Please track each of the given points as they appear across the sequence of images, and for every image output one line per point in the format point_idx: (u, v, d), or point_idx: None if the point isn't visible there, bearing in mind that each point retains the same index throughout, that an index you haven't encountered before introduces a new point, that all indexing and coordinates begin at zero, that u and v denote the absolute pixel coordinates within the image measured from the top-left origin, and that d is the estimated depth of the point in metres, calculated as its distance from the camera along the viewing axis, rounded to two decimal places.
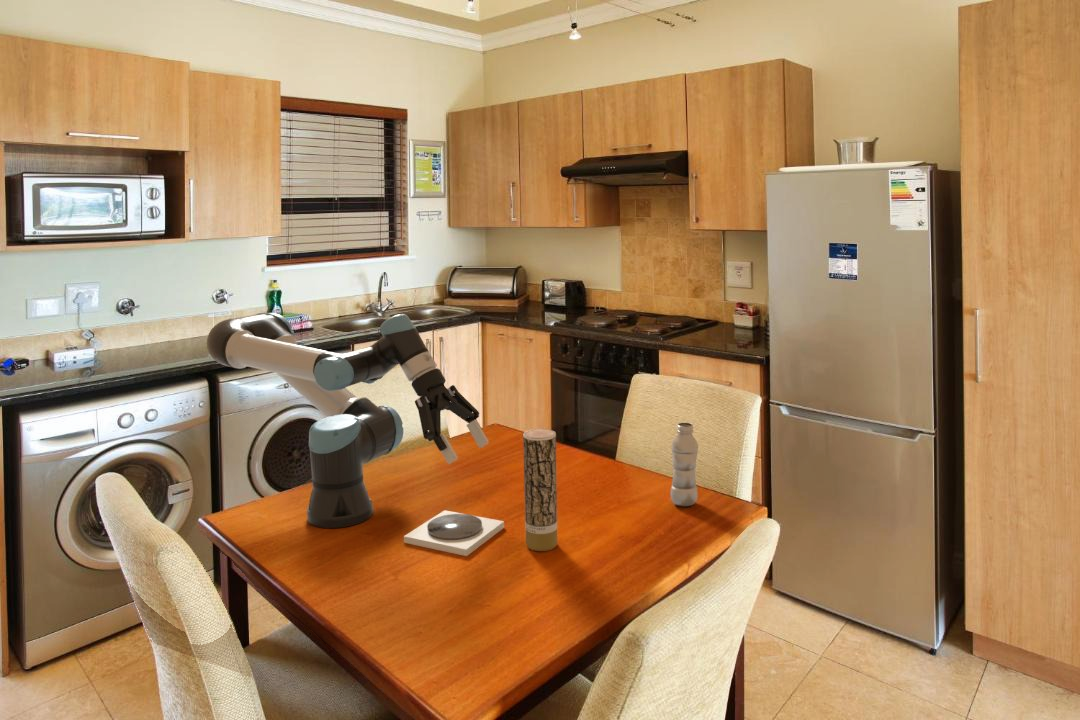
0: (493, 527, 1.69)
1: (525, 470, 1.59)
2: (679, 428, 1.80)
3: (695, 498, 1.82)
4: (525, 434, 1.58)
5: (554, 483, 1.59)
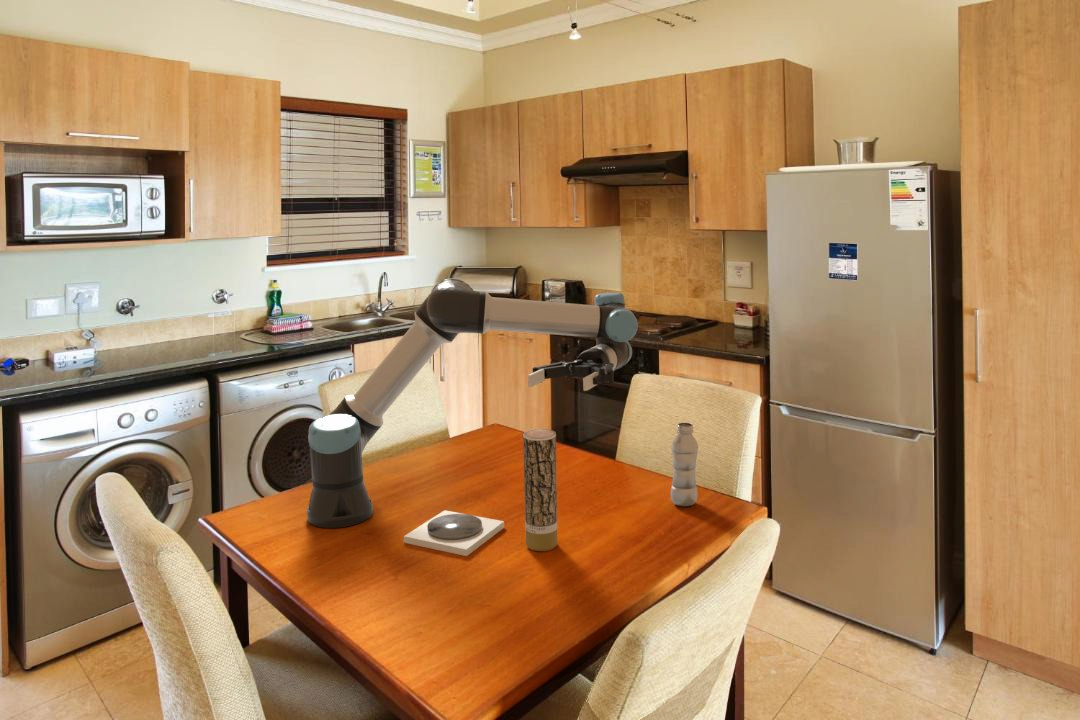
0: (493, 527, 1.69)
1: (525, 470, 1.59)
2: (679, 428, 1.80)
3: (695, 498, 1.82)
4: (525, 434, 1.58)
5: (554, 483, 1.59)
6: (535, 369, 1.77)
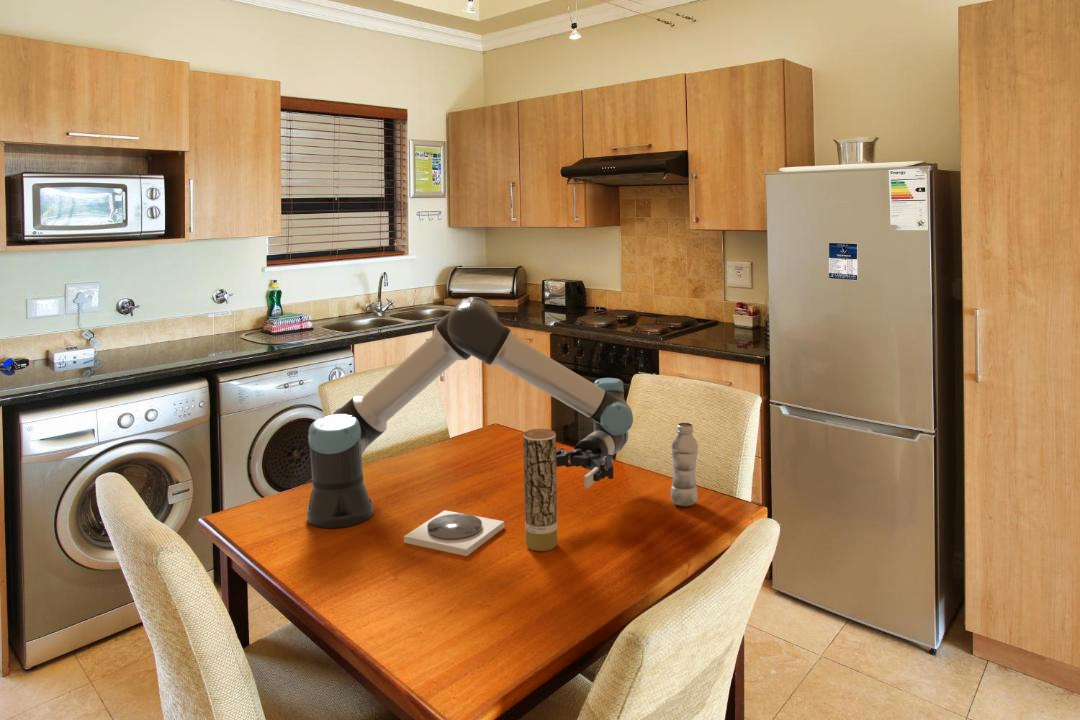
0: (493, 527, 1.69)
1: (525, 470, 1.59)
2: (679, 428, 1.80)
3: (695, 498, 1.82)
4: (525, 434, 1.58)
5: (554, 483, 1.59)
6: None
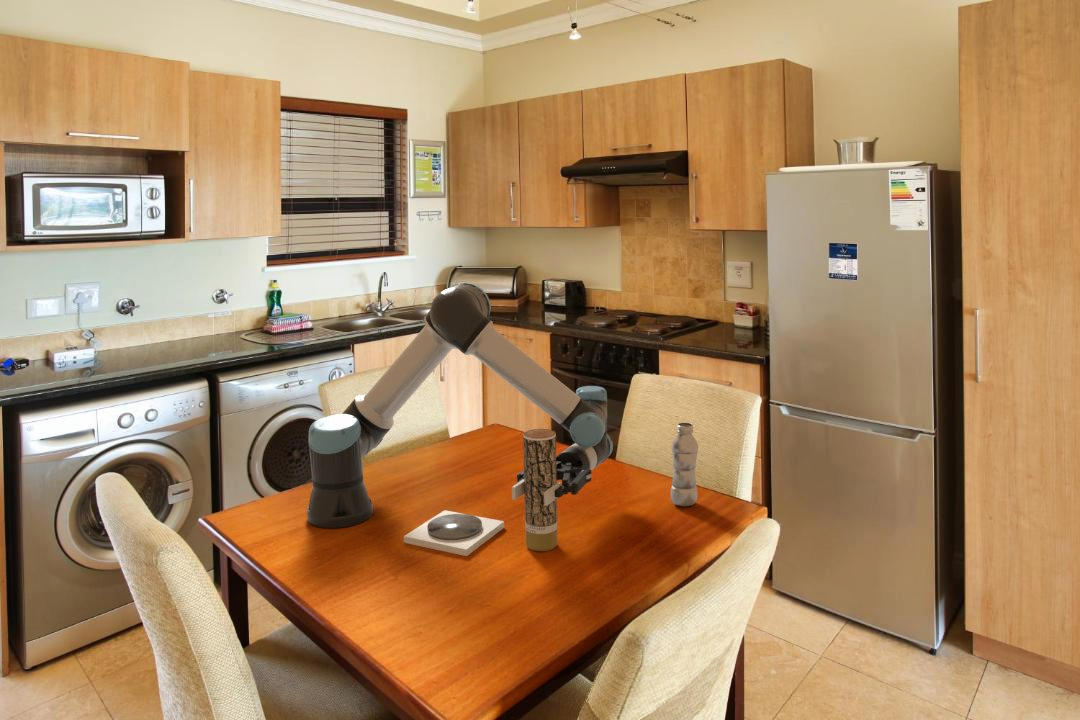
0: (493, 527, 1.69)
1: (525, 470, 1.59)
2: (679, 428, 1.80)
3: (695, 498, 1.82)
4: (525, 434, 1.58)
5: (554, 483, 1.59)
6: (520, 476, 1.65)
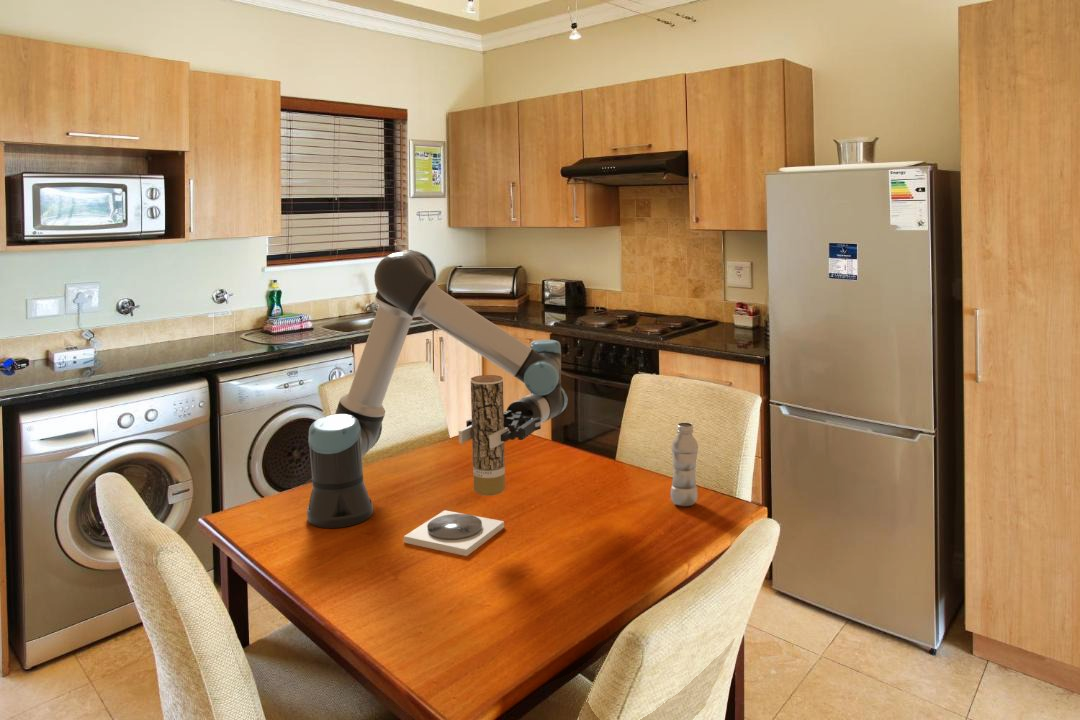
0: (493, 527, 1.69)
1: (472, 414, 1.60)
2: (679, 428, 1.80)
3: (695, 498, 1.82)
4: (472, 379, 1.60)
5: (501, 428, 1.61)
6: (469, 422, 1.67)
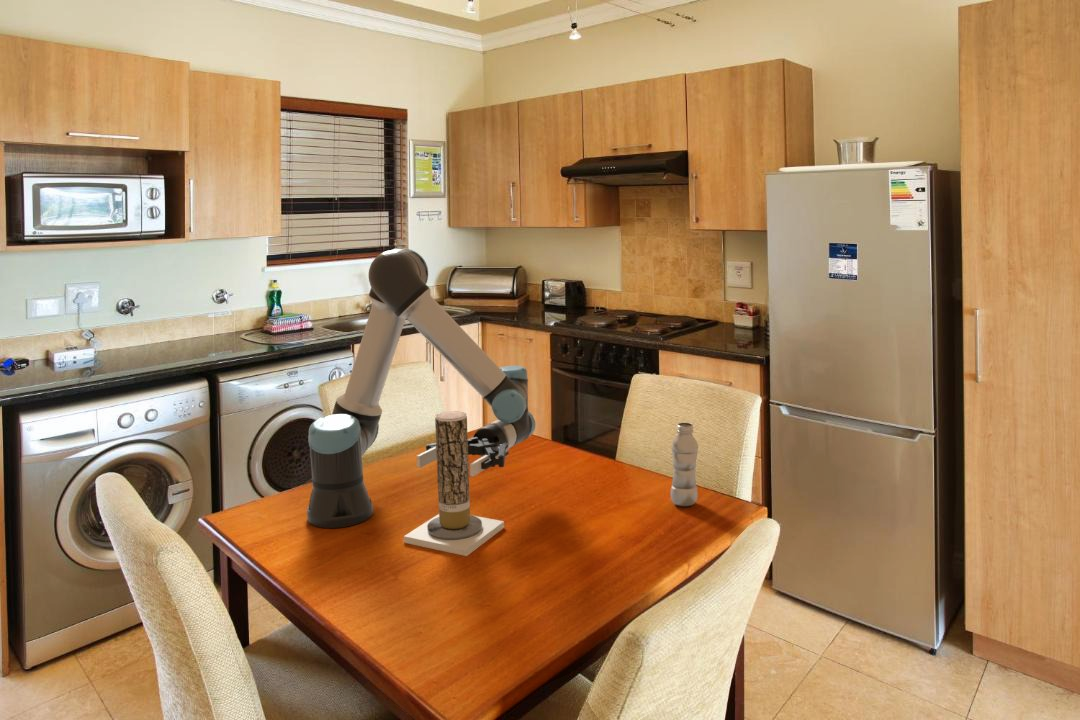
0: (493, 527, 1.69)
1: (437, 450, 1.64)
2: (679, 428, 1.80)
3: (695, 498, 1.82)
4: (437, 415, 1.64)
5: (465, 463, 1.65)
6: (428, 446, 1.74)
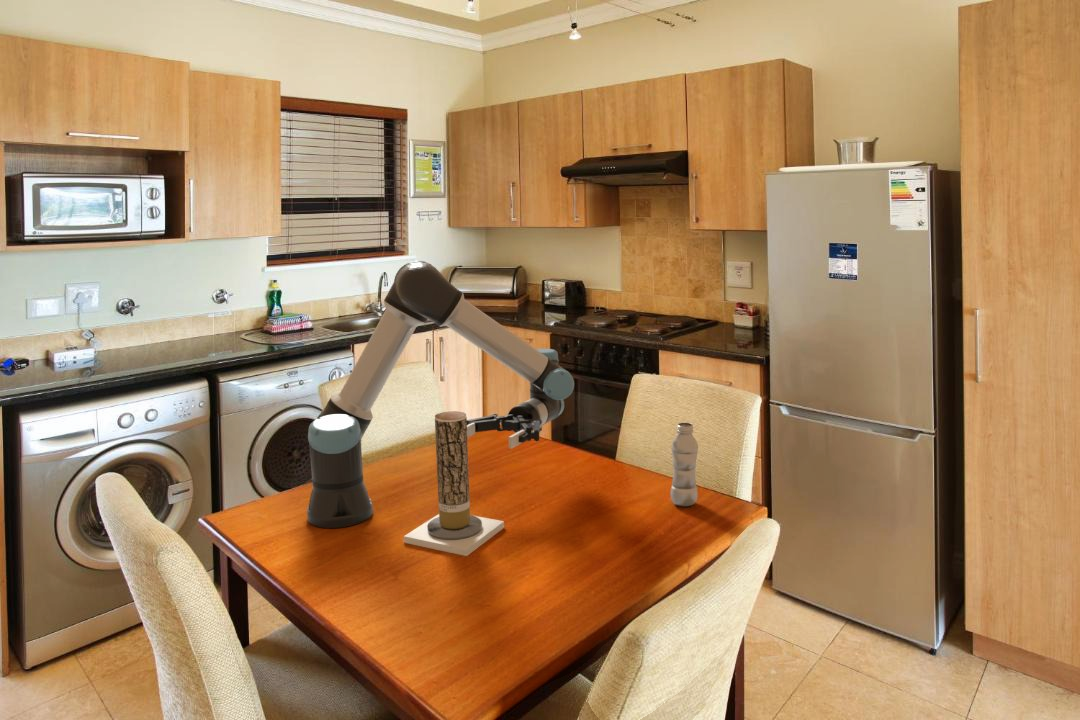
0: (493, 527, 1.69)
1: (437, 451, 1.64)
2: (679, 428, 1.80)
3: (695, 498, 1.82)
4: (436, 416, 1.64)
5: (465, 463, 1.65)
6: (467, 422, 1.85)
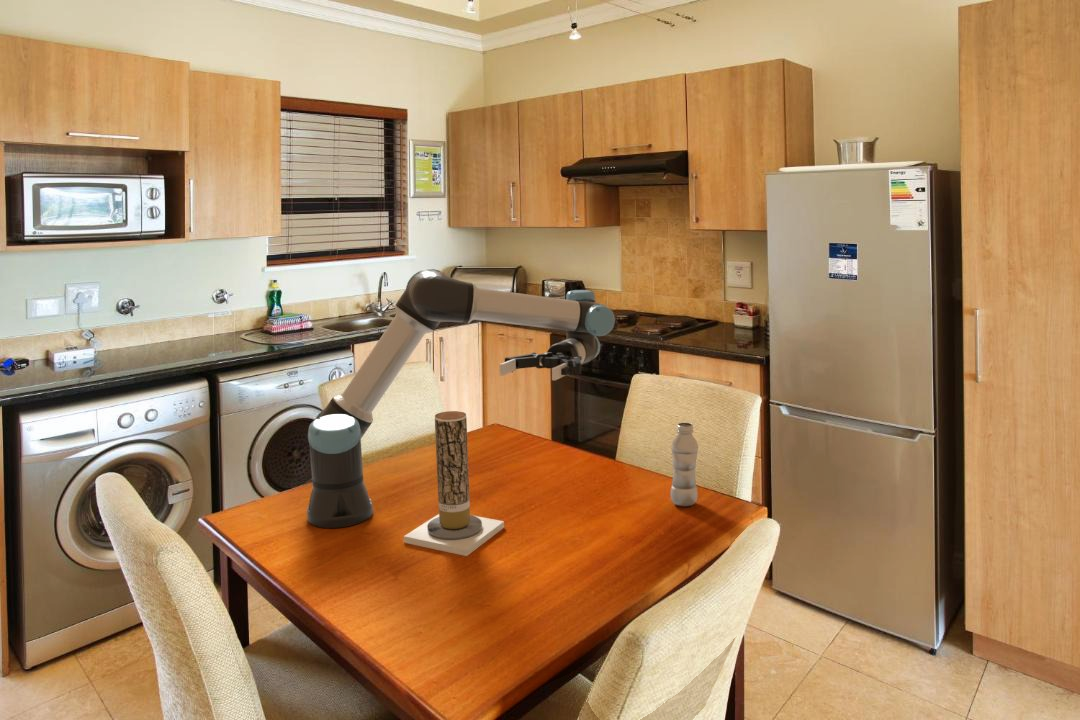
0: (493, 527, 1.69)
1: (437, 450, 1.64)
2: (679, 428, 1.80)
3: (695, 498, 1.82)
4: (436, 416, 1.64)
5: (465, 463, 1.65)
6: (507, 359, 1.86)
